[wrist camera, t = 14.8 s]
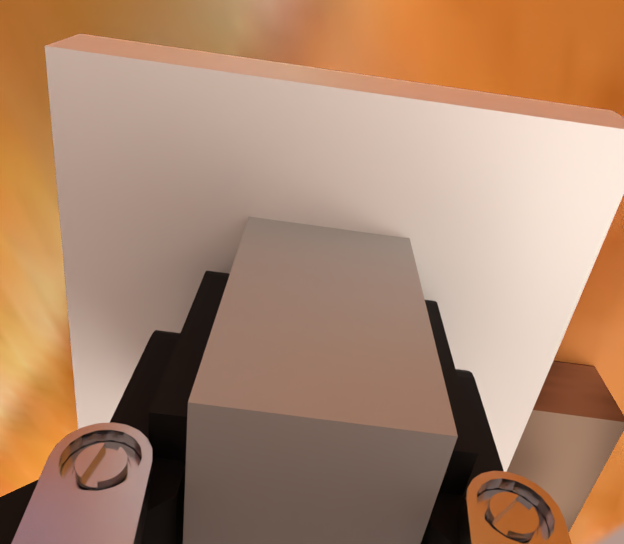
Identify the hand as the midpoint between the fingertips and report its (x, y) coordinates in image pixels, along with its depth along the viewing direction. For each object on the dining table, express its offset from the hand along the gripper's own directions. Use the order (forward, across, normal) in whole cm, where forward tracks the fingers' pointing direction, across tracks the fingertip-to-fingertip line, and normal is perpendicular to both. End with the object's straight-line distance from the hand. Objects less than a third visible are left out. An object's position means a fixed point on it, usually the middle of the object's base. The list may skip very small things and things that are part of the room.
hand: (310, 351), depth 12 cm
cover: (+2, 0, 0) cm, 2 cm away
